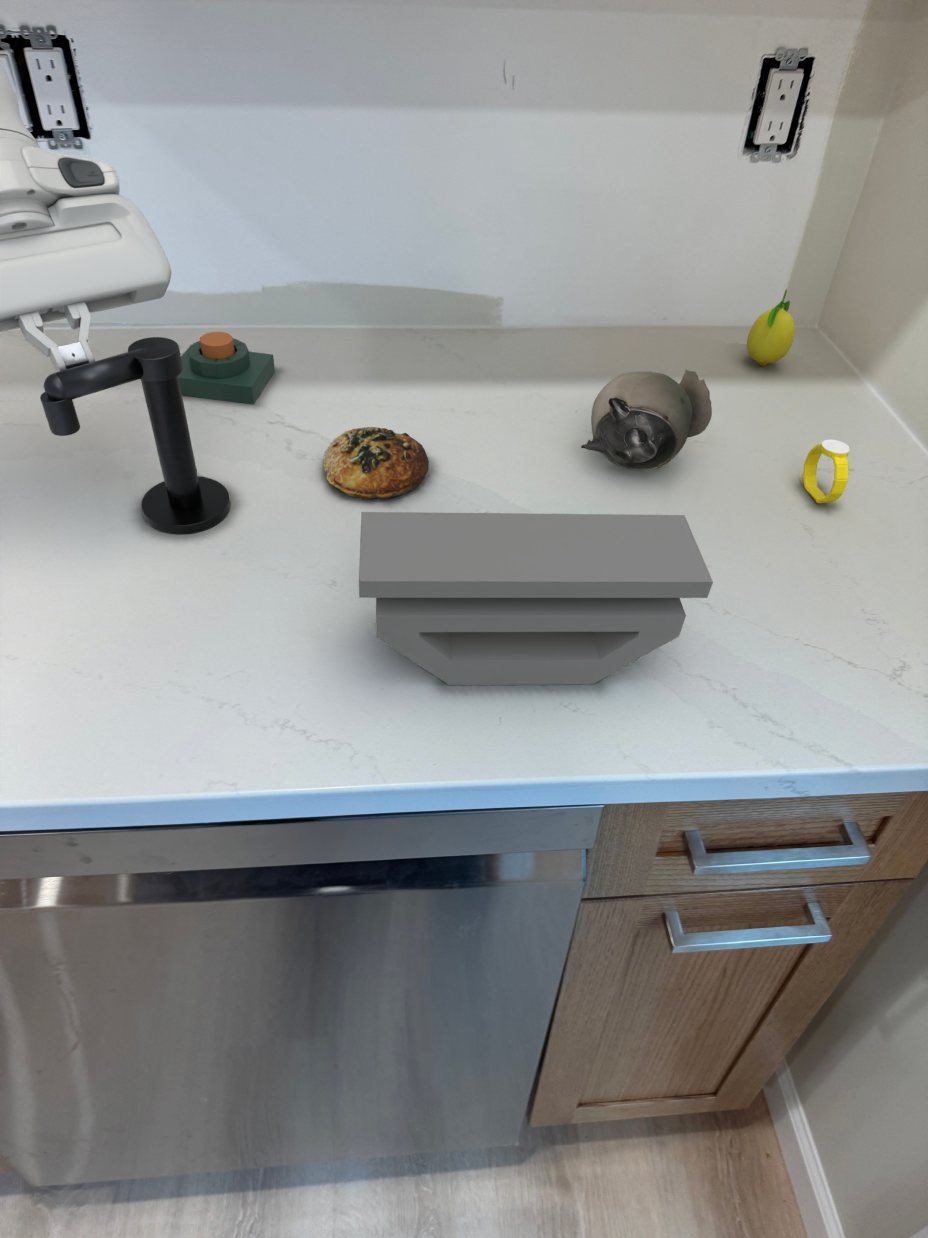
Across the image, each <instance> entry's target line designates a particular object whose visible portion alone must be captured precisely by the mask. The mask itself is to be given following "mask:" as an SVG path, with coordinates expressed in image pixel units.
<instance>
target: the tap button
mask: <svg viewBox="0 0 928 1238" xmlns="http://www.w3.org/2000/svg"><path fill="white" fill-rule="evenodd" d="M233 338H234V336H233V335H231V334H230V333H228V332H225V331H210V332H206V333H204V334H203V335H201V336H200V338H199V341H200V344H201V350H202V355H203V356H204V357H206V358H212V359H220V358H227V357H230V356H232V355H234V354H235V350H234V343H233Z"/></svg>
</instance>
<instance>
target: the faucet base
mask: <svg viewBox="0 0 928 1238" xmlns="http://www.w3.org/2000/svg"><path fill="white" fill-rule="evenodd" d="M140 382H141V387H142V391H143V395H144V400H145V404H146V407H147V413H148V417H149V421H150V425H151V431H152V434H153V438H154V443H155V447H156V451H157V456H158V460H159V464H160V469H161V473H162V477H163V481H160V482H158V483H157V484H155V485H154V486H152V487H151V488H150V489H149V490H147V491H146V493H144V495H143V496H142V499H141V505H140V507H141V511H142V515H143V518H144V520H145V522H146V523H147V524H148V525H149V526H150V527H152V528H153V529H154V530H157V531H160V532H163V533H165V534H170V535H171V534H172V535H189V534H196V533H200V532H204V531H206V530H209V529H211V528H213V527H216V526H217V525H218V524H220V523H221V522H223V521H224V520H225V518H226V517H227V516H228V514H229V513H230V511H231V499H230V498H231V497H230V494H229V491H228V489H227V488H226V487H225V485H223V484H222V483H221V482H219V481H218V480H216V479H213V478H210V477H207V476H200V475H198V469H197V465H196V460H195V455H194V450H193V449H194V448H193V444H192V440H191V434H190V429H189V424H188V419H187V418H188V417H187V414H186V408H185V404H184V398H183V395H182V393H181V388H180V383H179V377H178V376H177V377H175V378H172V379H169V380H165V381H158V382H150V381H144V380H141V379H140Z"/></svg>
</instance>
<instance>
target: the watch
mask: <svg viewBox="0 0 928 1238" xmlns="http://www.w3.org/2000/svg"><path fill="white" fill-rule="evenodd" d="M850 451H851V449H850V446H849V445H848V444H847V443H845V442H843V441H841V440H838V439H824V440H822V442H821V443H820V444H819V443H818V444H816V445H814V446H813V448H811V449H810V451H808V453H807V455H806V458H805V460H804V464H803V469H802V470H803V471H802V481H803V487H804V489H805V490H806V492H807V493H808V494H809V495H810V496H811V497H812V499H814V501H815V503H817V504H830V503H834V502H836V501H838V500H839V498H840V497H841V496H842V495H843V494H844V492H845V490H846V487H847V484H848V481H849V480H848V479H849V468H850V467H849V462H848V459H847V457H848V456H849V455H850ZM822 455H824V456H826V457H828V458H830V459H832V461H833V465H834V474H833V477H834V478H833V482H832V485H831V489H830V491H829V492H828V493H827V495H825V493H824V492H823V491H822V490H821V489H820V488H819V485H818V480H817V469H818V463H819V461H820V458H821V457H822Z"/></svg>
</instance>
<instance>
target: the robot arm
mask: <svg viewBox="0 0 928 1238" xmlns="http://www.w3.org/2000/svg"><path fill="white" fill-rule="evenodd" d="M120 189H121V188H120V178H119V176H118V172H117V171H116V169H115V168H114V166H112V165H111V164H110V163H109V162H107V161H104V160H98V159H93V158H87V157H81V156H76V155H70V154H65V153H61V152H56V151H51V150H47V149H44V148H41V147H40V144H39V143H38V141H37V140H36V139H35V137H34V135H33V134H32V133H31V131H29V129H28V128H27V127H26V126H25V124H24V122H23V119H22V116H21V112H20V104H19V100H18V97H17V94H16V92H15V89H14V87H13V85H12V83H11V80H10V78H9V76H8V75H7V71H6V69H5V68H4V65H3V64H2V62H1V61H0V333H2V332H3V333H4V332H7V331H12V330H17V329H20V331H21V333H22V335H23V337H24V340H25V341H26V342H27V343H29V345H31V346H32V347H34V348H35V349H36V350H38V351H39V352H41V353H42V354H43V355H44V356H46V357H47V358H49V359H50V361H51V364H52V365H53V367H54V370H55V373H56V372H59V371H63V370H66V369H70V368H73V367H77V366H81V365H84V364H88V363H91V362H95V361H96V359H95V356H94V353H93V352H92V350H91V347H90V345H89V343H88V341H89V335H90V326H91V319H92V315H91V314H92V313H97V312H98V313H99V312H103V311H107V310H112V309H116V308H121V307H126V306H130V305H131V306H132V305H135V304H140V303H145V302H150V301H154V300H159V299H161V298H163V297H164V296H165V294H166V293H167V290H168V288H169V285H170V282H171V279H172V268H171V264H170V262H169V259H168V257H167V255H166V253H165V251H164V248H163V246H162V245H161V243H160V241H159V239H158V237H157V235H156V233H155V232H154V229H153V228H152V227H151V225H150V223H149V221H148V220H147V218H146V216H145V215H144V213H143V211H141V209H140V208H139V207H138V206H137V204H135V203H134V201H132V200H131V199H129V198H128V197H126V196H123V195H121V194H120V192H121V191H120ZM65 319H66V320H67V322H68V324H69V327H70V329H71V330H72V331H73V330H78V337H77V341H76V342H73V343H69V344H64V345H63V344H62V345H58V344H57V343H56V342H55V341H53V339H51V338H50V337H48V336H47V334H45V333H44V324H45V323H50V322H55V321H60V320H65Z"/></svg>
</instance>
